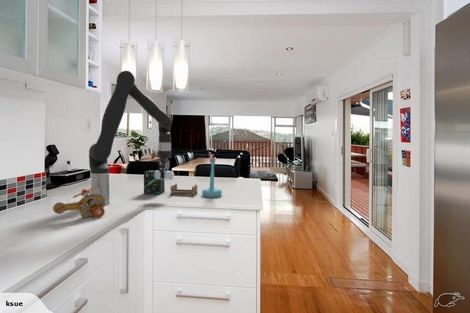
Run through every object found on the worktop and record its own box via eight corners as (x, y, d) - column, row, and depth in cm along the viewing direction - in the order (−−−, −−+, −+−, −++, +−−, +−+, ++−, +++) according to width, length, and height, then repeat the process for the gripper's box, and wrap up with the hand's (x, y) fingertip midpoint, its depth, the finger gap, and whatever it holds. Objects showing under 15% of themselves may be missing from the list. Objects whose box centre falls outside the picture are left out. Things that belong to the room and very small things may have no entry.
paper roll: (173, 179, 175) (174, 170, 174) (171, 180, 169) (171, 171, 169) (157, 178, 176) (157, 170, 175) (153, 179, 170) (154, 170, 170)
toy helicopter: (107, 216, 133) (106, 187, 132) (54, 224, 119) (54, 192, 119) (102, 212, 139) (102, 184, 138) (52, 220, 126) (51, 189, 125)
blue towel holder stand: (225, 195, 184) (226, 157, 183) (211, 198, 175) (212, 158, 174) (212, 193, 193) (212, 156, 191) (198, 195, 184) (198, 156, 182)
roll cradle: (193, 196, 181) (193, 186, 181) (170, 195, 182) (170, 186, 182) (197, 193, 191) (197, 184, 191) (175, 192, 192) (175, 183, 192)
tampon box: (164, 192, 194) (164, 170, 193) (159, 194, 184) (159, 172, 184) (149, 191, 195) (149, 170, 194) (143, 194, 186) (143, 171, 185)
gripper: (162, 149, 179) (162, 176, 180) (154, 150, 165) (153, 179, 166) (174, 149, 178) (173, 177, 179) (166, 150, 164) (166, 180, 165)
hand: (164, 178), depth 172 cm, fingers closed on paper roll, 5 cm apart
